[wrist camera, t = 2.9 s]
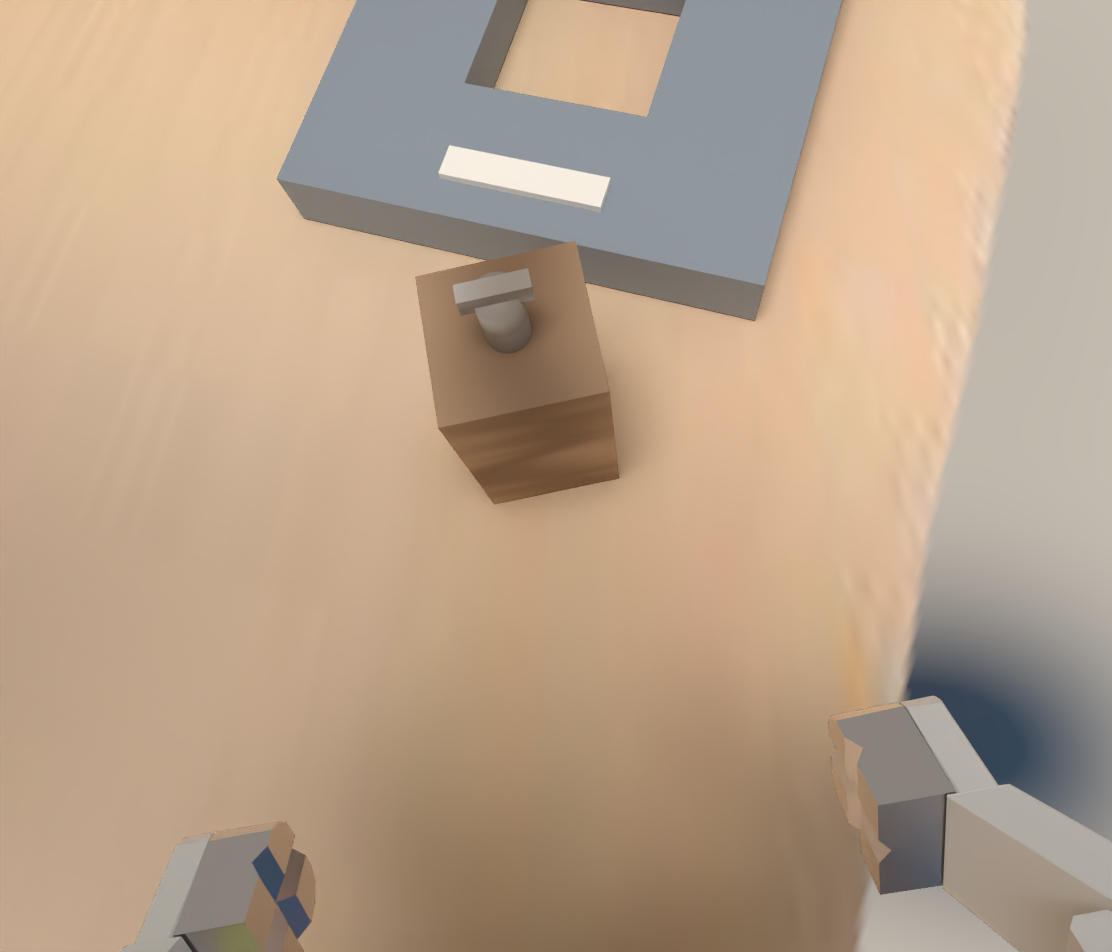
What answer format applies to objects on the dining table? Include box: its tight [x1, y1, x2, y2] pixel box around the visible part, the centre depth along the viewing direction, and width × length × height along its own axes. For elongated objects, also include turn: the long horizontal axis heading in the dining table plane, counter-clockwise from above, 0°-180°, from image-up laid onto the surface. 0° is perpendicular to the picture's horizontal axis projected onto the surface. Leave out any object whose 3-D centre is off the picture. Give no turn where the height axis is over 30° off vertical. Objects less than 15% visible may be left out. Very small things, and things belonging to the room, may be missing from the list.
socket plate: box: [277, 0, 842, 321], centre depth 31 cm, size 18×18×3 cm
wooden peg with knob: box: [415, 241, 619, 504], centre depth 24 cm, size 4×4×10 cm
